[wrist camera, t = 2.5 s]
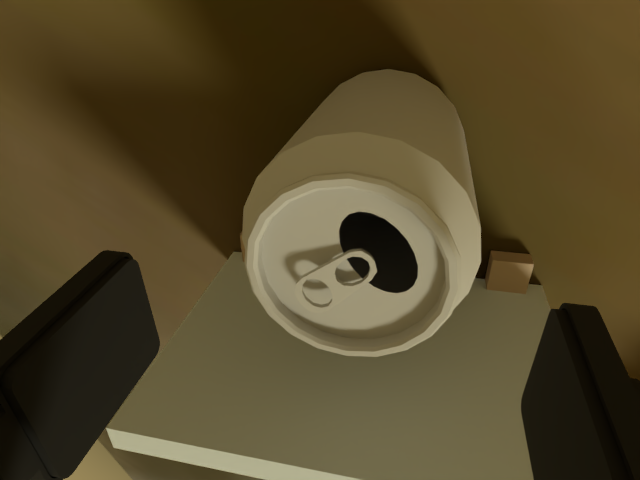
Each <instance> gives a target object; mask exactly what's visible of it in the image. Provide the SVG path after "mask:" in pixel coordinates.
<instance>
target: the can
mask: <svg viewBox="0 0 640 480" xmlns="http://www.w3.org/2000/svg"><path fill="white" fill-rule="evenodd" d="M242 240H243V244H244V247H245V264H244V265H245V268H246V271H247V275H248V278H249V281H250V285H251V288H252V291H253V293H254V294H255V296H256V297H257V299H258V300H259V302H260V303H261V305H262V306H263V308H264V309H265V311H266V312H267V314H268V315H269V316H270V317H271V318H273V319H274V320H275V321H276V322H277V323H278V324H279V325H281V326H282V327H283V328H284V329H285V330H286V331H287V332H289V333H290V334H291V335H293V336H295V337H297V338H299V339H301V340H303V341H304V342H306V343H308V344H310V345H312V346H314V347H316V348H318V349H322V350H326V351H330V352H334V353H337V354H341V355H345V356H367V357H378V356H383V355H387V354H392V353H396V352H401V351H405V350H408V349H409V348H411V347H413V346H415V345H417V344H419V343H420V342H422V341H424V340H426V339H428V338H430V337H431V336H432V335H433V334H434V333H435V332H436V331H437V330H438V329H439V328H440V327H441V326H442V325H443V323H444V322H445V321H446V320H447V319H448V318H449V317H450V316H451V314H452V312H453V310H454V309H455V307H456V306H457V305H458V304H459V303H460V302H461V301H462V300H463V299H464V298H465V296H466V295H467V294H468V293H469V291H470V289H471V286H472V284H473V281H474V279H475V276H476V274H477V271H478V269H479V266H480V264H481V225H480V219H479V214H478V208H477V202H476V197H475V191H474V186H473V180H472V174H471V169H470V163H469V157H468V152H467V146H466V140H465V135H464V129H463V127H462V124H461V122H460V119H459V116H458V114H457V111H456V109H455V106H454V105H453V104H452V103H451V102H450V100H449V99H448V98H447V97H446V96H445V95H444V93H443V92H442V91H441V90H440V89H439V88H438V87H437V86H435V85H434V84H432V83H430V82H428V81H427V80H425V79H423V78H421V77H420V76H418V75H416V74H414V73H408V72H403V71H397V70H392V69H384V70H377V71H371V72H364V73H361V74H359V75H357V76H355V77H353V78H351V79H349V80H347V81H345V82H343V83H341V84H340V85H339V86H338V87H337V88H336V89H335V90H334V91H333V92H332V93H331V94H330V95H329V96H328V97H327V98H326V99H325V100H324V101H323V102H322V103H321V104H320V105H319V107H318V108H317V109H316V110H315V111H314V112H313V114H312V115H311V116H310V117H309V118H308V119H307V120H306V122H305V123H304V124H303V125H302V126H301V127H300V128H299V130H298V131H297V132H296V133H295V134H294V135H293V136H292V138H291V139H290V140H289V141H288V142H287V143H286V145H285V146H284V147H283V148H282V149H281V150H280V151H279V153H278V154H277V155H276V156H275V157H274V158H273V159H272V161H271V162H270V163H269V164H268V165H267V166H266V167H265V169H264V170H263V171H262V172H261V173H260V174H259V176H258V177H257V178H256V180H255V183H254V185H253V187H252V189H251V192H250V194H249V196H248V199H247V201H246V203H245V205H244V210H243V230H242Z"/></svg>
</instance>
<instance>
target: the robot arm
mask: <svg viewBox="0 0 640 480" xmlns="http://www.w3.org/2000/svg"><path fill="white" fill-rule="evenodd" d="M159 346H160V341H159V336H158V333H157V329H156V326H155V322H154V318H153V315H152V311H151V308H150V304H149V300H148V297H147V293H146V290H145V286H144V282H143V279H142V275H141V272H140V268H139V265H138V262H137V261H136V260H134V259H133V257H132V256H131V255H130V254H129V253H126V252H117V251H108V250H106V251H102V252H101V253H99V254H98V255H97V256H96V257H95V258H94V259H93V260H91V261H90V262H89V263H88V264H87V265H86V266H84V267H83V268H82V269H81V270H80V271H79V272H78V273H76V274H75V275H74V276H73V277H72V278H71V279H70V280H68V281H67V282H66V283H65V284H64V285H63V286H62V287H60V288H59V289H58V290H57V291H56V292H55V293H54V294H52V295H51V296H50V297H49V298H48V299H47V300H46V301H44V302H43V303H42V304H41V305H40V306H39V307H38V308H36V309H35V310H34V311H33V312H32V313H31V314H30V315H28V316H27V317H26V318H25V319H24V320H23V321H22V322H20V323H19V324H18V325H17V326H16V327H15V328H13V329H12V330H11V331H10V332H9V333H8V334H7V335H5V336H4V337H3V338H2V339H1V340H0V480H63V479H65V478H68V477H69V476H70V475H71V474H72V473H73V472H74V471H75V470H76V468H77V467H78V465H79V464H80V462H81V461H82V460H83V458H84V457H85V455H86V454H87V452H88V451H89V450H90V448H91V447H92V445H93V444H94V443H95V441H96V440H97V438H98V437H99V436H100V434H101V433H102V431H103V430H104V429H105V427H106V426H107V424H108V423H109V421H110V420H111V419H112V417H113V416H114V414H115V413H116V412H117V410H118V409H119V407H120V406H121V404H122V403H123V402H124V400H125V399H126V397H127V396H128V395H129V393H130V392H131V390H132V389H133V387H134V386H135V385H136V383H137V382H138V380H139V379H140V378H141V376H142V375H143V373H144V372H145V371H146V369H147V368H148V366H149V365H150V363H151V362H152V361H153V359H154V358H155V356H156V355H157V353H158V350H159ZM521 414H522V420H523V425H524V430H525V436H526V441H527V446H528V452H529V457H530V462H531V468H532V473H533V478H534V480H640V381H639V380H637V379H632V378H629V375H628V373H627V371H626V369H625V367H624V365H623V363H622V360H621V358H620V356H619V354H618V352H617V350H616V347H615V345H614V343H613V341H612V339H611V337H610V334H609V332H608V330H607V328H606V326H605V324H604V322H603V319H602V317H601V315H600V313H599V311H598V309H597V308H596V307H594V306H587V305H579V304H570V303H563V304H562V305H561V306H560V308H559V309H551V310H550V312H549V315H548V318H547V321H546V324H545V327H544V330H543V333H542V336H541V339H540V342H539V345H538V349H537V352H536V355H535V358H534V361H533V364H532V367H531V370H530V373H529V376H528V379H527V382H526V385H525V389H524V392H523V395H522V399H521Z"/></svg>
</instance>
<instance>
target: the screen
mask: <svg viewBox="0 0 640 480" xmlns="http://www.w3.org/2000/svg"><path fill="white" fill-rule="evenodd" d="M240 241H241V250H242V252H233V253H232V254H231V256H230V257H229V259H228V260H227V261H226V263H225V264H224V265H223V267H222V268H221V270H220V271H219V272H218V274H217V275H216V277H215V278H214V279H213V281H212V282H211V283H210V285H209V286H208V288H207V289H206V290H205V292H204V293H203V295H202V296H201V297H200V299H199V300H198V301H197V303H196V304H195V306H194V307H193V308H192V310H191V311H190V312H189V314H188V315H187V317H186V318H185V319H184V321H183V322H182V324H181V325H180V326H179V328H178V329H177V330H176V332H175V333H174V335H173V336H172V337H171V339H170V340H169V342H168V343H167V344H166V346H165V347H164V348H163V350H162V351H161V353H160V354H159V355H158V357H157V358H156V360H155V361H154V362H153V364H152V365H151V366H150V368H149V369H148V371H147V372H146V373H145V375H144V376H143V377H142V379H141V380H140V382H139V383H138V384H137V386H136V387H135V389H134V390H133V391H132V393H131V394H130V395H129V397H128V398H127V400H126V401H125V402H124V404H123V405H122V407H121V408H120V409H119V411H118V412H117V413H116V415H115V416H114V418H113V419H112V420H111V422H110V423H109V425H108V426H107V427H106V430H107V432H108V435H109V437H110V440H111V442H112V445H113V447H114V448H117V449H122V450H127V451H131V452H136V453H141V454H146V455H150V456H155V457H160V458H165V459H169V460H174V461H179V462H184V463H189V464H193V465H198V466H203V467H208V468H212V469H217V470H222V471H227V472H231V473H236V474H241V475H246V476H250V477H255V478H260V479H265V480H534V478H533V473H532V468H531V462H530V457H529V452H528V446H527V441H526V436H525V430H524V425H523V420H522V414H521V399H522V395H523V392H524V389H525V385H526V382H527V379H528V376H529V373H530V370H531V367H532V364H533V361H534V358H535V355H536V352H537V349H538V345H539V342H540V339H541V336H542V333H543V330H544V327H545V324H546V321H547V318H548V315H549V312H550V307H549V304H548V301H547V298H546V295H545V292H544V289H543V286H542V285H534V284H529V281H530V277H531V273H532V270H533V266H534V263H533V260H532V257H531V254H523V253H513V252H503V251H492V250H491V252H490V257H489V262H488V267H487V271H486V276H485V279H479V278H475V279H474V281H473V284H472V286H471V289H470V291H469V293H468V294H467V295H466V296H465V298H464V299H463V300H462V301H461V302H460V303H459V304H458V305H457V306H456V307H455V309H454V310H453V312H452V314H451V316H450V317H449V318H448V319H447V320H446V321H445V322H444V323H443V325H442V326H441V327H440V328H439V329H438V330H437V331H436V332H435V333H434V334H433V335H432V336H431V337H430V338H428V339H426V340H424V341H422V342H420V343H419V344H417V345H415V346H413V347H411V348H409V349H408V350H405V351H401V352H396V353H392V354H387V355H383V356H378V357H367V356H345V355H341V354H337V353H334V352H330V351H326V350H322V349H318V348H316V347H314V346H312V345H310V344H308V343H306V342H304V341H303V340H301V339H299V338H297V337H295V336H293V335H291V334H290V333H289V332H287V331H286V330H285V329H284V328H283V327H282V326H281V325H279V324H278V323H277V322H276V321H275V320H274V319H273V318H271V317H270V316H269V315H268V314H267V312H266V311H265V309H264V308H263V306H262V305H261V303H260V302H259V300H258V299H257V297H256V296H255V294H254V293H253V291H252V288H251V285H250V281H249V278H248V275H247V271H246V268H245V265H244V264H245V247H244V244H243V240H242V232H241V233H240Z"/></svg>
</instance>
